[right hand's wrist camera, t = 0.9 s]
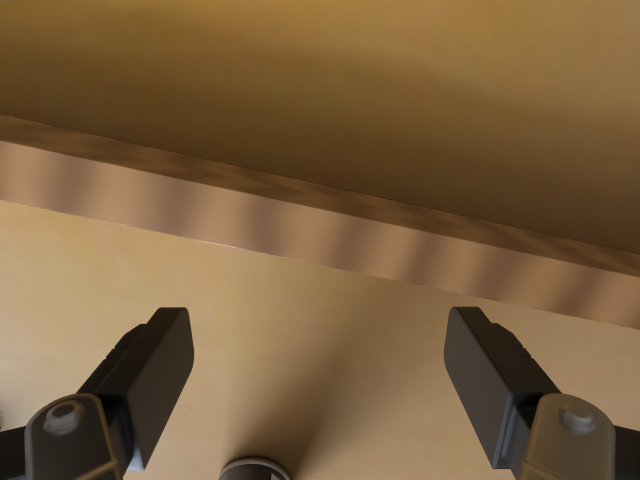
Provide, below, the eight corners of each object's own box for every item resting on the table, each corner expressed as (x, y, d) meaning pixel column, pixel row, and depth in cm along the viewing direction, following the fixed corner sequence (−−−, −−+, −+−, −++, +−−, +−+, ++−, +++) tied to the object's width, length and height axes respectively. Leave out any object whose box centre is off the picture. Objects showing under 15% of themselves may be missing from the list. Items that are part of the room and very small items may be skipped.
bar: (-87, 144, 34) (-207, 158, 26) (-95, 92, 32) (-227, 91, 24) (692, 308, 40) (782, 359, 32) (717, 271, 38) (818, 315, 30)
